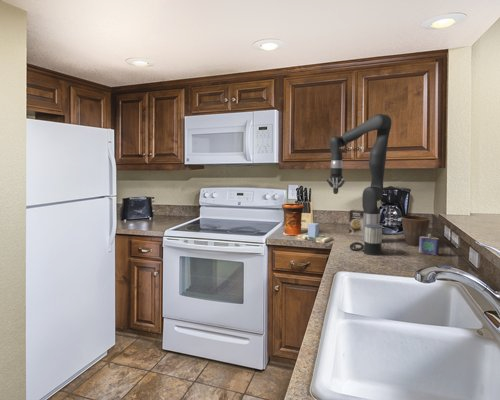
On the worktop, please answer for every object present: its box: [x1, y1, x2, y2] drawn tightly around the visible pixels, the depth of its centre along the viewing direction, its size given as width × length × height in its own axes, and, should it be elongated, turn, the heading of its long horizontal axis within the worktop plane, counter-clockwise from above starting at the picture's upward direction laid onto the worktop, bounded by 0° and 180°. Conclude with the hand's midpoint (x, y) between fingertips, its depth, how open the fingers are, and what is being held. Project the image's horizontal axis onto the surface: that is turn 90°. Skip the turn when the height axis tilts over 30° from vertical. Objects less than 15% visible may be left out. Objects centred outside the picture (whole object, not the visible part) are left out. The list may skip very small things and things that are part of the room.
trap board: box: [297, 232, 334, 244], centre depth 215 cm, size 18×12×2 cm, turn 52°
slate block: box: [307, 222, 320, 238], centre depth 213 cm, size 5×5×8 cm
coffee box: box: [348, 209, 364, 237], centre depth 228 cm, size 9×6×16 cm
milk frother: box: [349, 224, 384, 256], centre depth 185 cm, size 14×16×15 cm
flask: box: [418, 233, 440, 256], centre depth 180 cm, size 9×3×11 cm, turn 55°
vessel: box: [281, 202, 304, 236], centre depth 231 cm, size 14×14×20 cm
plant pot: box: [401, 215, 431, 247], centre depth 200 cm, size 15×15×16 cm
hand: (335, 193), depth 227 cm, fingers closed
